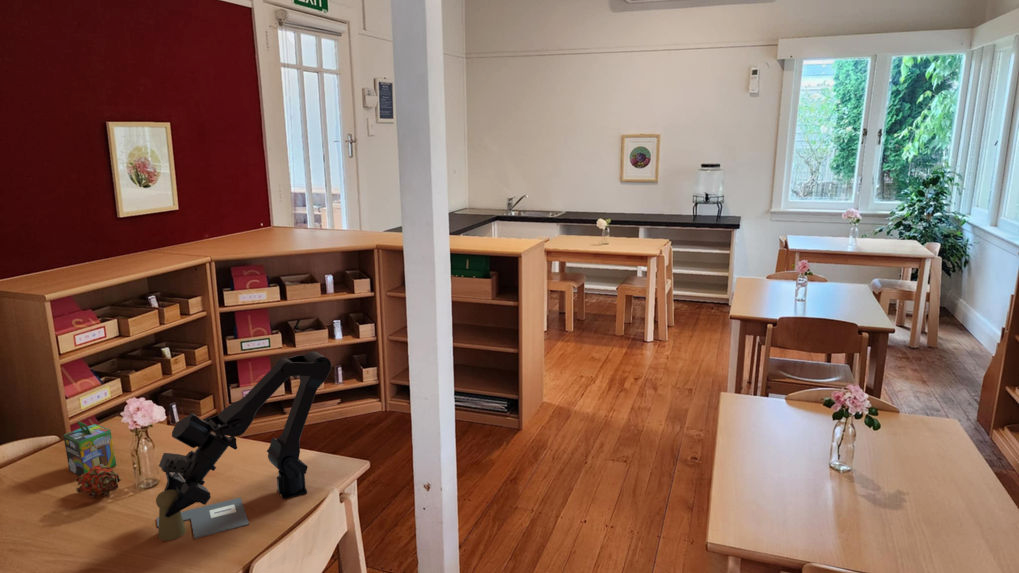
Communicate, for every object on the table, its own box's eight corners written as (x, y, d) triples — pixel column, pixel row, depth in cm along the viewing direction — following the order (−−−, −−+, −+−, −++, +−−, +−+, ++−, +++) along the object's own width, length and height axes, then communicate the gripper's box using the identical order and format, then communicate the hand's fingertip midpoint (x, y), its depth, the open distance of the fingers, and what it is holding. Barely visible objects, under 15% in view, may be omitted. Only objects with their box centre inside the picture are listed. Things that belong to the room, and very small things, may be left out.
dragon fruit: (120, 503, 180) (83, 503, 183) (134, 473, 186) (98, 474, 188) (98, 489, 174) (60, 490, 177) (114, 459, 179) (77, 460, 182)
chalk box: (117, 466, 196) (110, 419, 193) (84, 479, 189) (76, 430, 186) (100, 458, 201) (94, 412, 198) (67, 470, 194) (60, 423, 190)
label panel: (240, 498, 180) (240, 496, 180) (249, 524, 168) (249, 523, 168) (156, 518, 170) (156, 517, 170) (159, 548, 158) (159, 546, 158)
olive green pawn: (174, 542, 160) (169, 500, 158) (152, 538, 162) (147, 497, 159) (191, 527, 166) (186, 487, 164) (169, 524, 167) (164, 484, 165)
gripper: (168, 428, 168) (124, 482, 164) (191, 455, 154) (143, 515, 150) (205, 447, 175) (163, 500, 170) (229, 475, 161) (184, 533, 156)
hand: (163, 511), depth 162 cm, fingers open, 6 cm apart
